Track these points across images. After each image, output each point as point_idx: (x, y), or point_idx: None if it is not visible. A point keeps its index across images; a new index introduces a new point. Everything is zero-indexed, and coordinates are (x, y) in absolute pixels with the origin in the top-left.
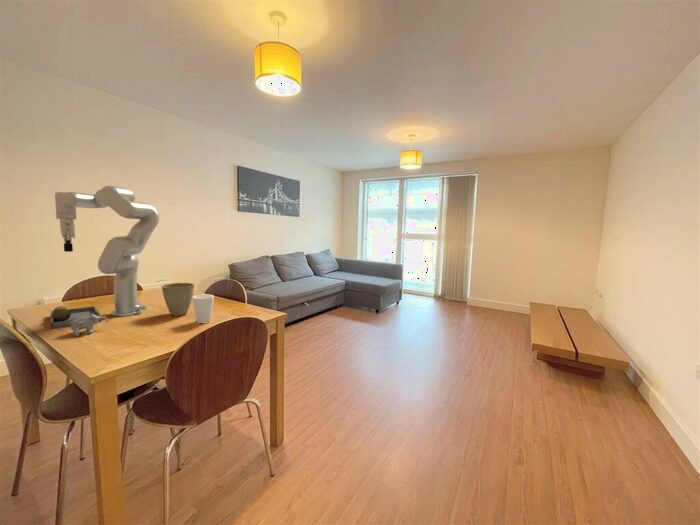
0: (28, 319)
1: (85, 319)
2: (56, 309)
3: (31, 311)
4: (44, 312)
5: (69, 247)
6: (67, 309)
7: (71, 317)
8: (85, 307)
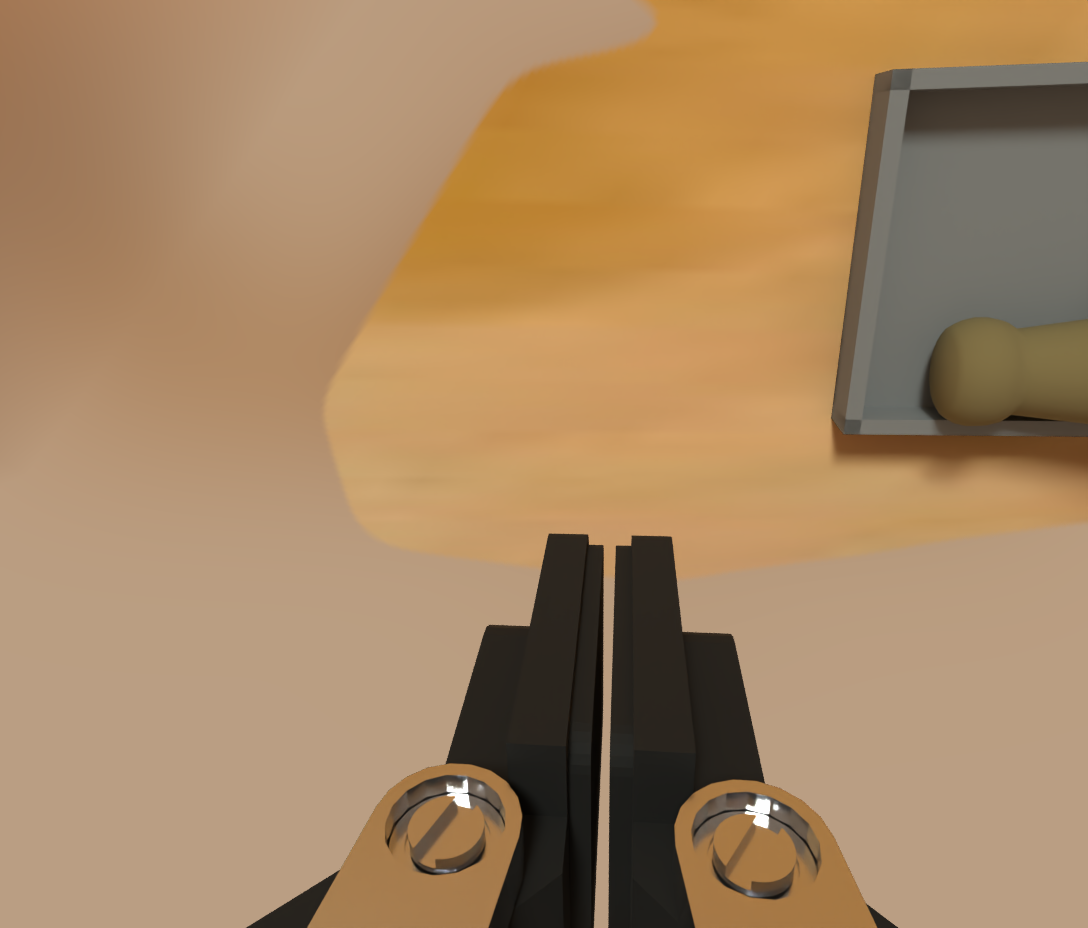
0: (832, 538)
1: None
2: (1016, 410)
3: (550, 525)
4: (648, 454)
5: (748, 720)
6: (1008, 327)
7: (1056, 287)
8: (894, 169)
